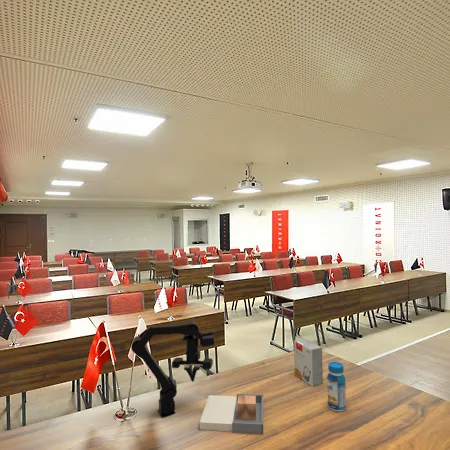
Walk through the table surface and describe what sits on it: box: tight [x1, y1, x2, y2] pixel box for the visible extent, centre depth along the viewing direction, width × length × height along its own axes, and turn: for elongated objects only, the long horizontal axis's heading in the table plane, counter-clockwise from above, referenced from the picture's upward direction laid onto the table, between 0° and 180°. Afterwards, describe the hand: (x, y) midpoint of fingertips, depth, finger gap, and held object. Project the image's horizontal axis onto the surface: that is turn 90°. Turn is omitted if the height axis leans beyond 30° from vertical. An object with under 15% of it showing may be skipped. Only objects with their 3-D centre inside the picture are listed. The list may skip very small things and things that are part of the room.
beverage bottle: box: [326, 361, 347, 412], centre depth 151 cm, size 8×8×20 cm
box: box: [231, 393, 265, 435], centre depth 146 cm, size 13×24×4 cm, turn 173°
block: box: [237, 395, 256, 420], centre depth 146 cm, size 7×7×8 cm
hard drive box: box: [293, 338, 324, 387], centre depth 179 cm, size 16×8×20 cm, turn 25°
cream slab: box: [199, 394, 237, 432], centre depth 147 cm, size 14×22×3 cm, turn 173°
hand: (192, 381), depth 153 cm, fingers closed
